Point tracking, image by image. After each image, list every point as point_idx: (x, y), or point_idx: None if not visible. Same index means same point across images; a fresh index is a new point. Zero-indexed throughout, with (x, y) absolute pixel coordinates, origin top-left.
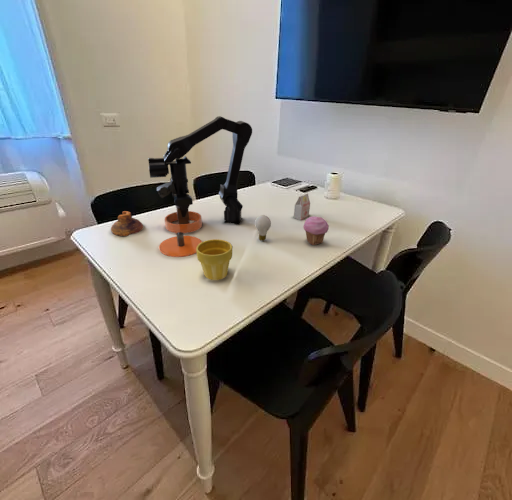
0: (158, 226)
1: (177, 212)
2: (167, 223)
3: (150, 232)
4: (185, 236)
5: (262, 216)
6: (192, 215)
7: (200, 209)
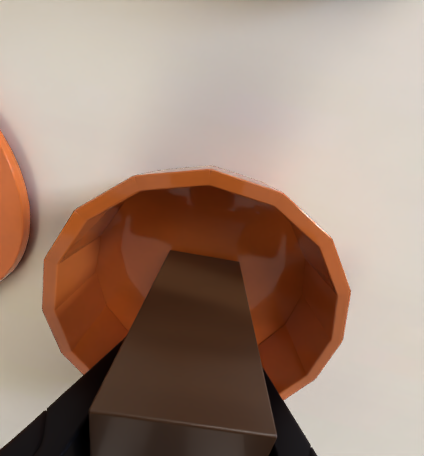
0: (293, 126)
1: (144, 341)
2: (136, 175)
3: (210, 25)
4: (8, 243)
5: None
6: (265, 370)
7: (381, 406)
